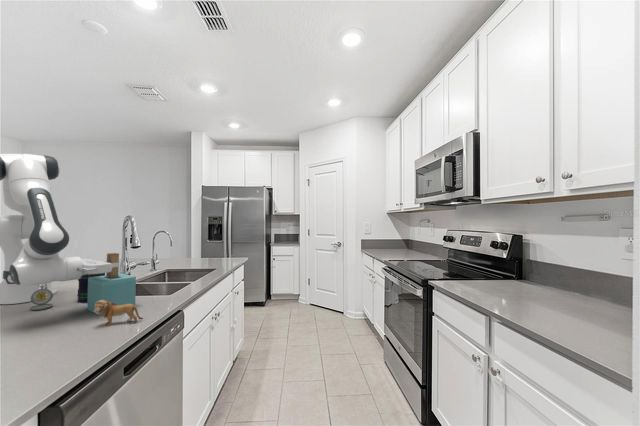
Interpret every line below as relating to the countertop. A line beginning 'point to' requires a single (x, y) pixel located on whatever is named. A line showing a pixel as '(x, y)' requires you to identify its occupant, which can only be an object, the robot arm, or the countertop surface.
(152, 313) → the countertop surface
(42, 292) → the pocket watch
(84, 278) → the storage jar
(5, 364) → the countertop surface
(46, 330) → the countertop surface
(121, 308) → the lion figurine
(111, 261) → the block
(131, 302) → the money box
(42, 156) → the robot arm
